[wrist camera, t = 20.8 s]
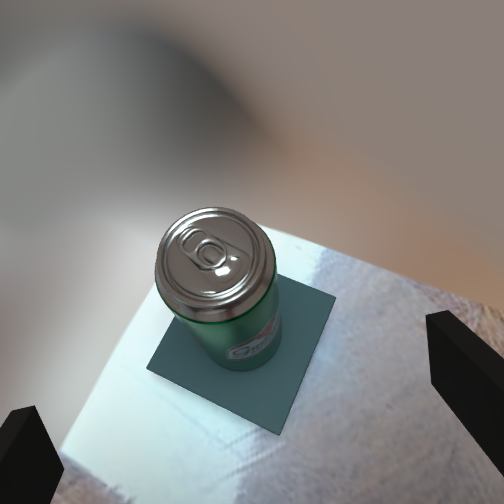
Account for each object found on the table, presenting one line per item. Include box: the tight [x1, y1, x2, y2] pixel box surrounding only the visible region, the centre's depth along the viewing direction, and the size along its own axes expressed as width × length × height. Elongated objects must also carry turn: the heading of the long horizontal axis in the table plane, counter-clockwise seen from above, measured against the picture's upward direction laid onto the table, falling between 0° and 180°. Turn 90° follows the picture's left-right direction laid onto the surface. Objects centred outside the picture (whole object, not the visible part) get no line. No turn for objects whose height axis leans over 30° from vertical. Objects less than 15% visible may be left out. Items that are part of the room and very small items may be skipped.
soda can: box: [155, 207, 282, 371], centre depth 22 cm, size 5×5×12 cm
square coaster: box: [146, 274, 336, 436], centre depth 29 cm, size 9×9×3 cm
